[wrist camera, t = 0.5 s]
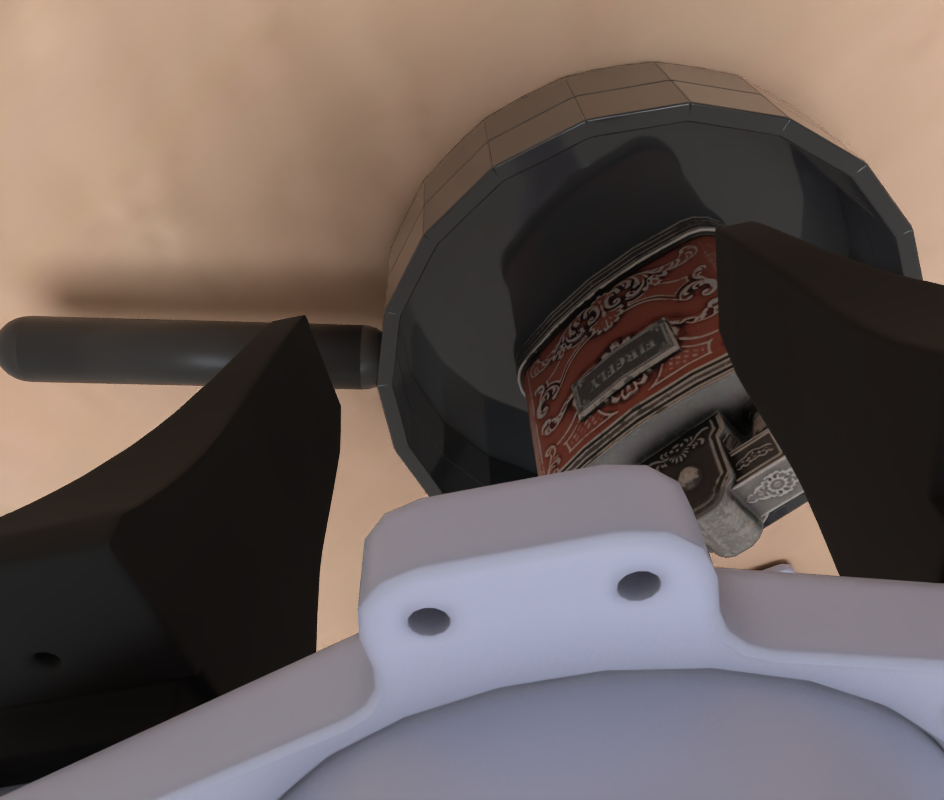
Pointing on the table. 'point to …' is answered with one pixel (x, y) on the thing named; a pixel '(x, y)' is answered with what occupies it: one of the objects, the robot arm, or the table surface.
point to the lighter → (656, 387)
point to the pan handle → (165, 350)
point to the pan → (589, 238)
